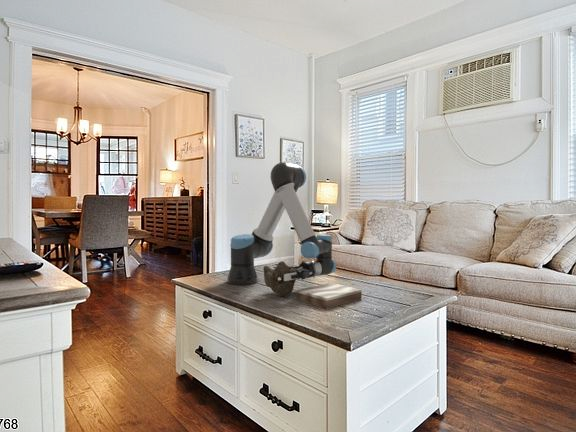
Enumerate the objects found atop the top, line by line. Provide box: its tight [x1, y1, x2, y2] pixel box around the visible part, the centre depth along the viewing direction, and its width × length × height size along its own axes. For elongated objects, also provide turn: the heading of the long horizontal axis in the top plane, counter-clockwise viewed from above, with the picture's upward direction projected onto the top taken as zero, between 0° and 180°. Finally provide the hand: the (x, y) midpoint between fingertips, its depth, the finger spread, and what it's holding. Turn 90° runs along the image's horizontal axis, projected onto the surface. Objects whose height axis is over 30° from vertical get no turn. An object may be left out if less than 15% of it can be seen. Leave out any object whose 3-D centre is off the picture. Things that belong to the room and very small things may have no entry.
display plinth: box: [296, 282, 362, 309], centre depth 152 cm, size 17×21×4 cm
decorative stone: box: [262, 260, 297, 298], centre depth 159 cm, size 16×11×15 cm
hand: (274, 275), depth 157 cm, fingers open, 13 cm apart
